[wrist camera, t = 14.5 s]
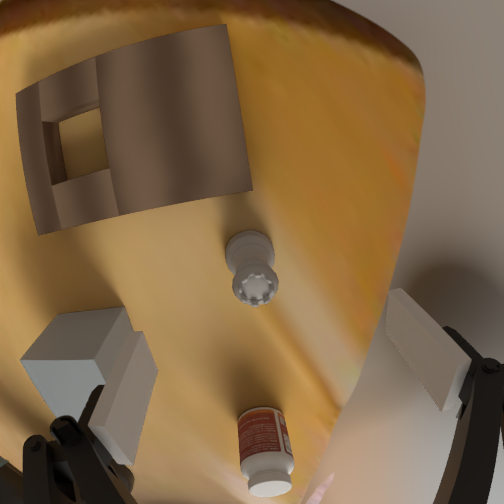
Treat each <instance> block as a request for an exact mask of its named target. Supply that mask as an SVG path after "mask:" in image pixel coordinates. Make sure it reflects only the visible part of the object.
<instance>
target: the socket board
mask: <svg viewBox="0 0 504 504" xmlns="http://www.w3.org/2000/svg"><path fill="white" fill-rule="evenodd" d="M99 107H100V112H101V120H102V127H103V134H104V140H105V147H106V153H107V158H108V164H109V168H108V169H105V170H101V171H98V172H94V173H91V174H87V175H84V176H81V177H78V178H74V179H71V180H68V181H67V177H66V171H65V166H64V160H63V154H62V148H61V141H60V134H59V126H58V122H61V121H63V120H66V119H68V118H71V117H74V116H76V115H79V114H82V113H84V112H87V111H90V110H93V109H96V108H99ZM16 110H17V123H18V133H19V142H20V150H21V157H22V163H23V169H24V175H25V181H26V186H27V191H28V196H29V200H30V205H31V209H32V213H33V217H34V221H35V225H36V229H37V233H38V236H40V235H43V234H47V233H51V232H55V231H58V230H62V229H66V228H70V227H74V226H78V225H82V224H86V223H90V222H94V221H99V220H103V219H107V218H112V217H116V216H120V215H125V214H129V213H134V212H139V211H143V210H148V209H153V208H158V207H163V206H168V205H173V204H178V203H183V202H189V201H194V200H199V199H205V198H211V197H216V196H222V195H228V194H234V193H240V192H246V191H253V187H252V181H251V174H250V168H249V161H248V155H247V148H246V142H245V136H244V129H243V123H242V117H241V110H240V104H239V98H238V92H237V85H236V79H235V73H234V67H233V61H232V55H231V49H230V43H229V37H228V31H227V25H226V24H221V25H215V26H208V27H203V28H197V29H192V30H187V31H182V32H177V33H173V34H168V35H164V36H160V37H156V38H152V39H149V40H145V41H141V42H138V43H134V44H131V45H128V46H125V47H122V48H118V49H115V50H112V51H110V52H107V53H104V54H101V55H98V56H96V57H93V58H90V59H88V60H85V61H83V62H80V63H78V64H75V65H73V66H71V67H68V68H66V69H64V70H62V71H59V72H57V73H55V74H53V75H51V76H49V77H47V78H44V79H42V80H40V81H38V82H36V83H35V84H33V85H31V86H29V87H27V88H25V89H23V90H21V91H20V92H18V93H16Z"/></svg>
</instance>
